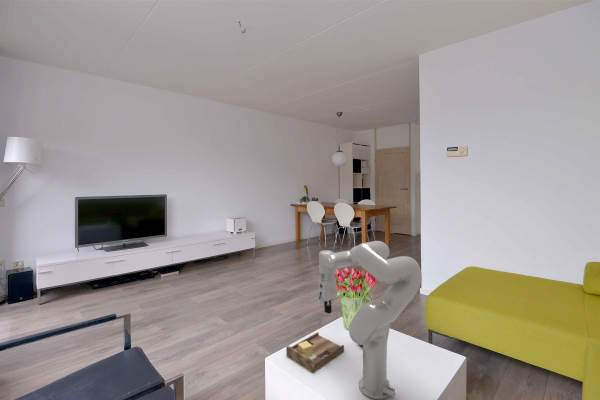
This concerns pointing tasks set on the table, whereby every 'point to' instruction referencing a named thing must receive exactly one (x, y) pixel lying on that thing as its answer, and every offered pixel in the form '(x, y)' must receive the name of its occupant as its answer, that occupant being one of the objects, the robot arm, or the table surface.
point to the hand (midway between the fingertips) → (328, 312)
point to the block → (305, 348)
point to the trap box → (315, 352)
